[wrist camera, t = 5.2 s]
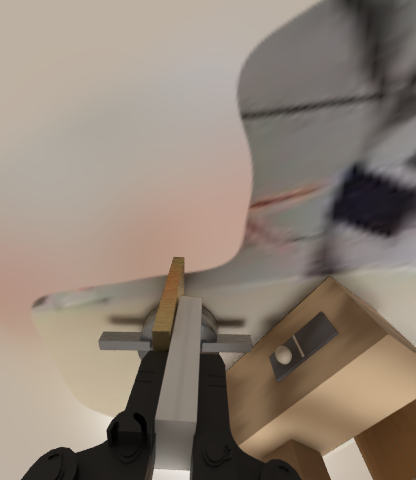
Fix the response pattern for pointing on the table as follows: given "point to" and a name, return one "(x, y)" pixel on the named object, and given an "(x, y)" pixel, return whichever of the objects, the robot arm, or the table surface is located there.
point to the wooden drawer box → (319, 380)
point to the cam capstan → (162, 325)
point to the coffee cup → (391, 445)
